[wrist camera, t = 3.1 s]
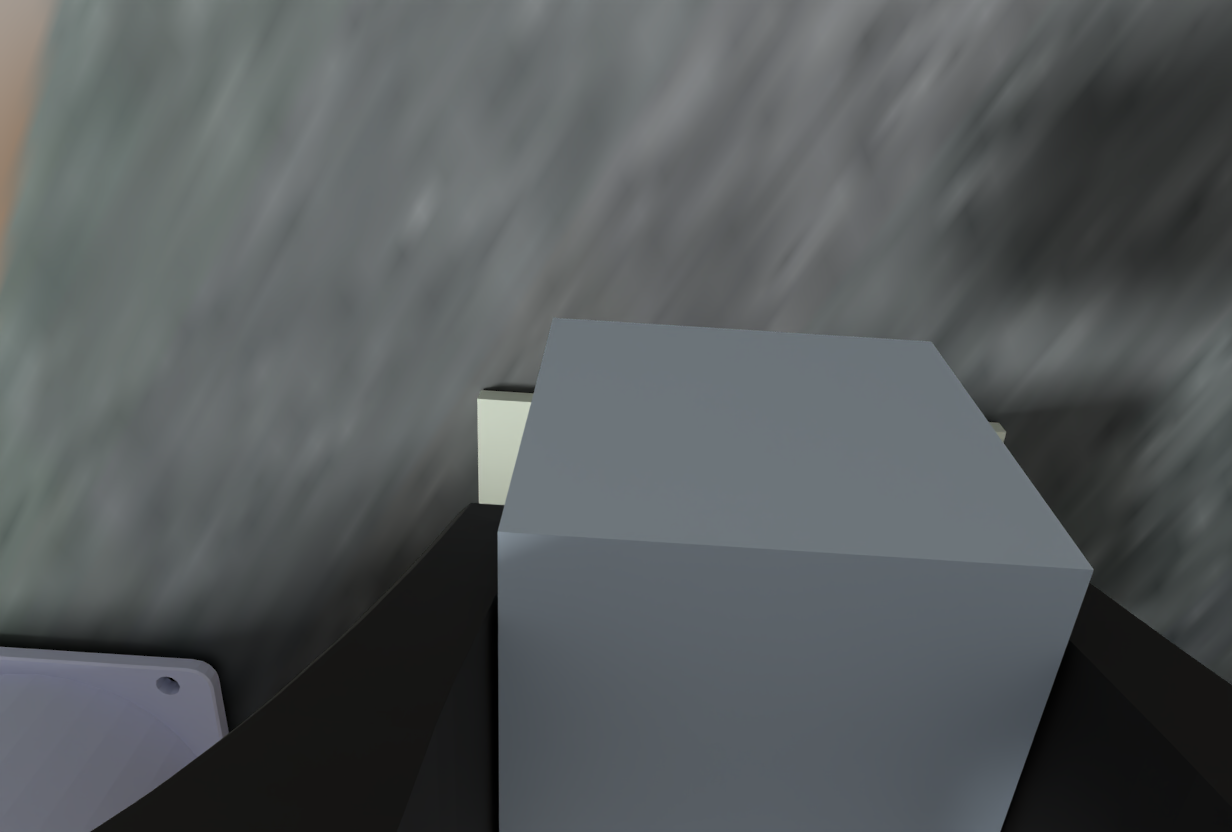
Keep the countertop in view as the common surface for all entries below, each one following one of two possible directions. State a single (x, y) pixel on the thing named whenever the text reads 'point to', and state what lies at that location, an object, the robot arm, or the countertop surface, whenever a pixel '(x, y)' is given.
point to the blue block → (769, 590)
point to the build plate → (515, 440)
